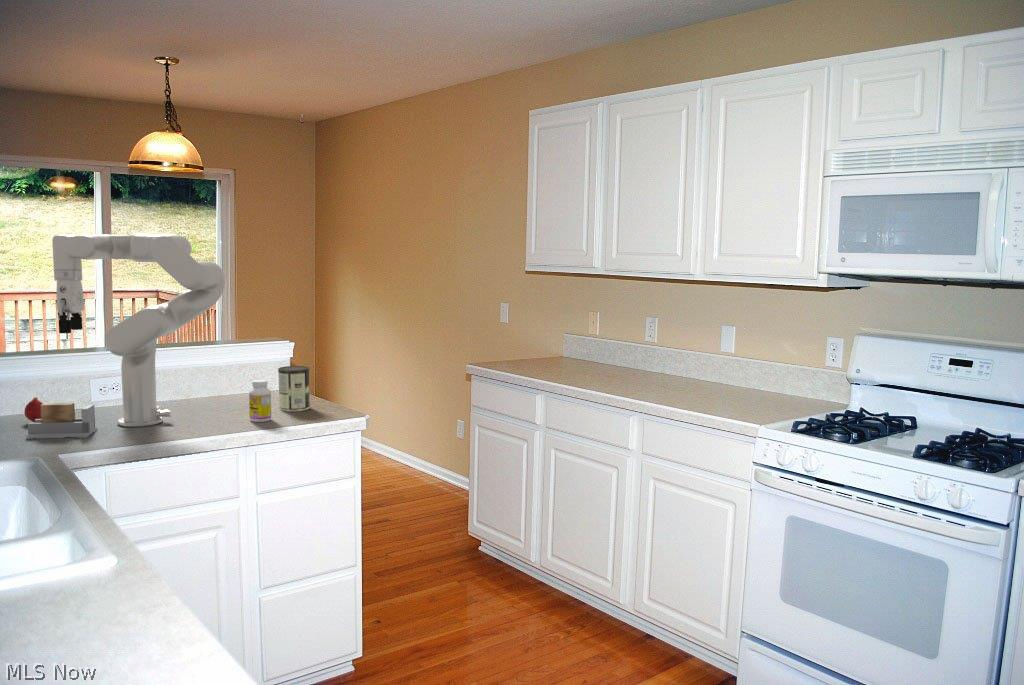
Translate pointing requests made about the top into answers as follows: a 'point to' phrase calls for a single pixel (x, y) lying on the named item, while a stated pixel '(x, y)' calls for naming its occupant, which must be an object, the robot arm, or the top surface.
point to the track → (65, 426)
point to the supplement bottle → (260, 401)
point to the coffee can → (293, 388)
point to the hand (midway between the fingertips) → (71, 331)
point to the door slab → (57, 412)
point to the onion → (33, 409)
